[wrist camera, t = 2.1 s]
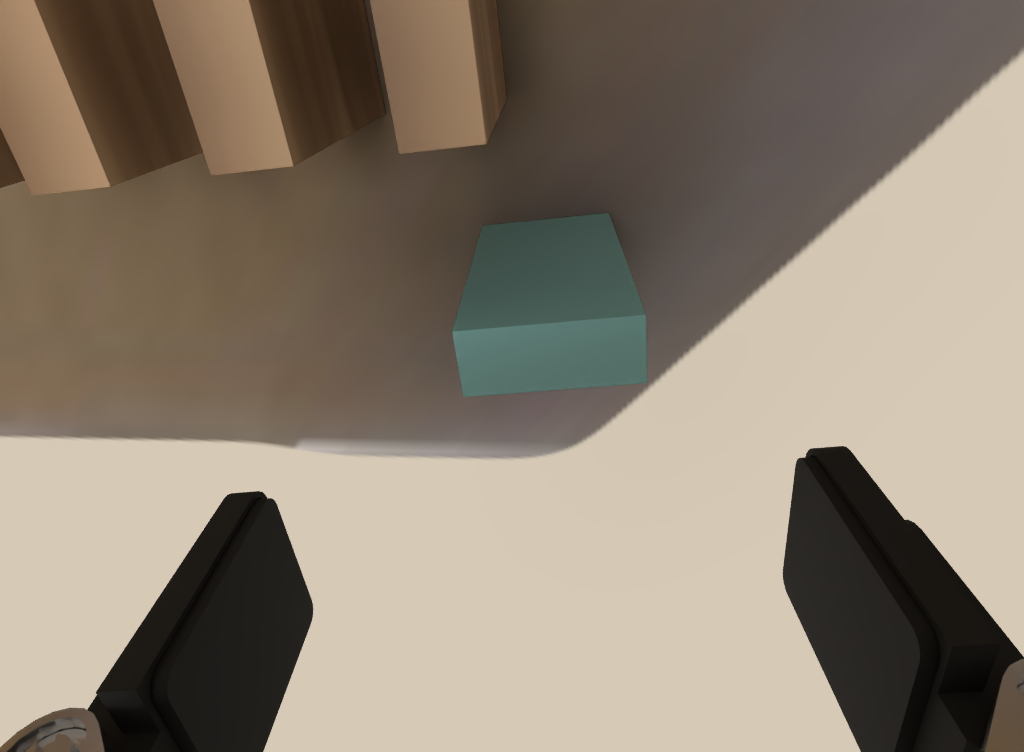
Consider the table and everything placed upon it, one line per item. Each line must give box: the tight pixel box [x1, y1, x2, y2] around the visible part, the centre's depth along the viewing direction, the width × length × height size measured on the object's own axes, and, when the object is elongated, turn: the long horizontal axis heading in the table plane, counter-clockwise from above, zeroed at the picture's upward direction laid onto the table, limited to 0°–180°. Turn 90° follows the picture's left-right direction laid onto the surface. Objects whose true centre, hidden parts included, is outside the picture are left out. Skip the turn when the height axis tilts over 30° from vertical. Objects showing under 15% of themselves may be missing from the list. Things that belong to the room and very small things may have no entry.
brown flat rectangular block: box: [153, 0, 386, 175], centre depth 18 cm, size 2×5×10 cm, turn 7°
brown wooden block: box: [0, 0, 203, 195], centre depth 18 cm, size 2×5×10 cm, turn 6°
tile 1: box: [370, 0, 507, 154], centre depth 17 cm, size 2×5×10 cm, turn 6°
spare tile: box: [452, 213, 647, 397], centre depth 21 cm, size 2×5×10 cm, turn 96°
